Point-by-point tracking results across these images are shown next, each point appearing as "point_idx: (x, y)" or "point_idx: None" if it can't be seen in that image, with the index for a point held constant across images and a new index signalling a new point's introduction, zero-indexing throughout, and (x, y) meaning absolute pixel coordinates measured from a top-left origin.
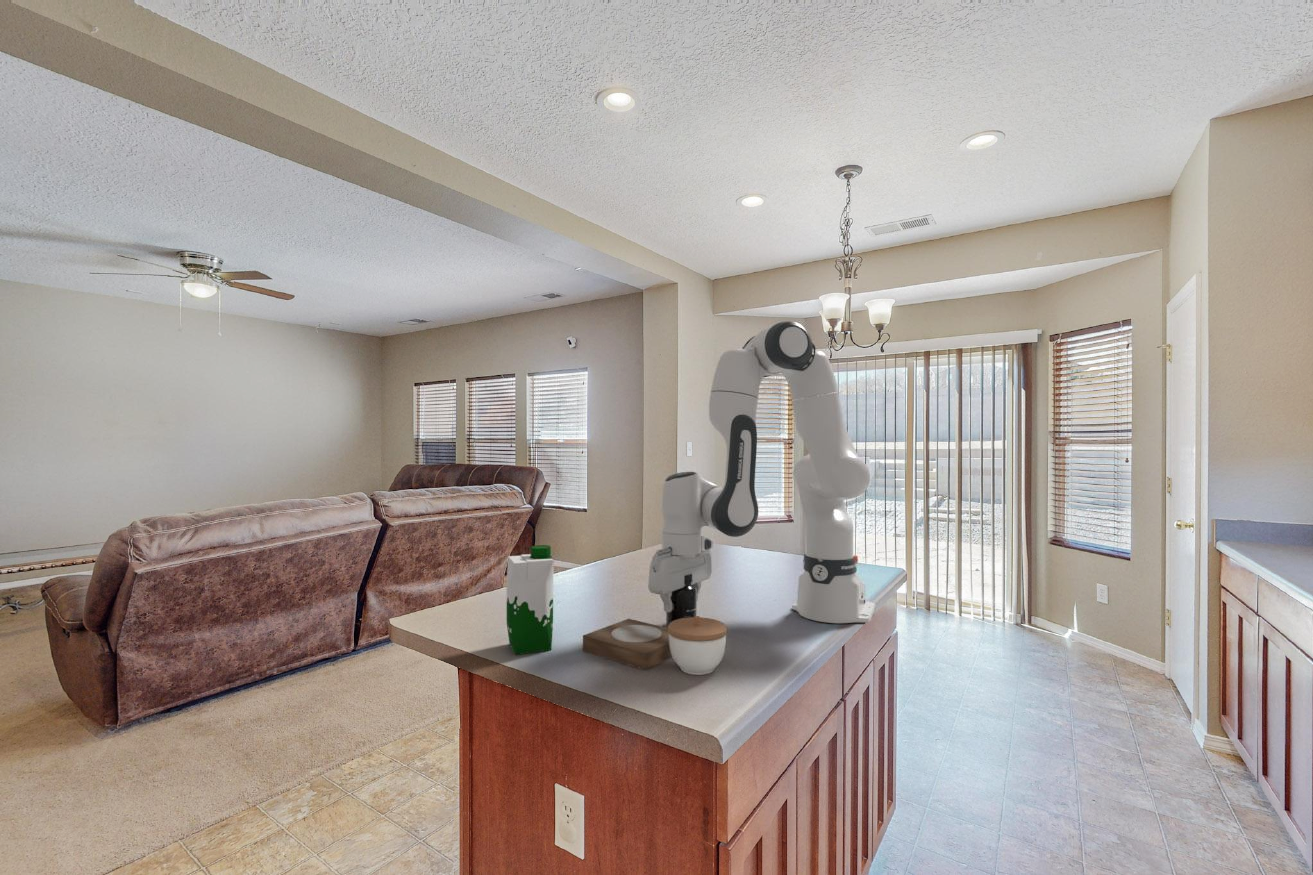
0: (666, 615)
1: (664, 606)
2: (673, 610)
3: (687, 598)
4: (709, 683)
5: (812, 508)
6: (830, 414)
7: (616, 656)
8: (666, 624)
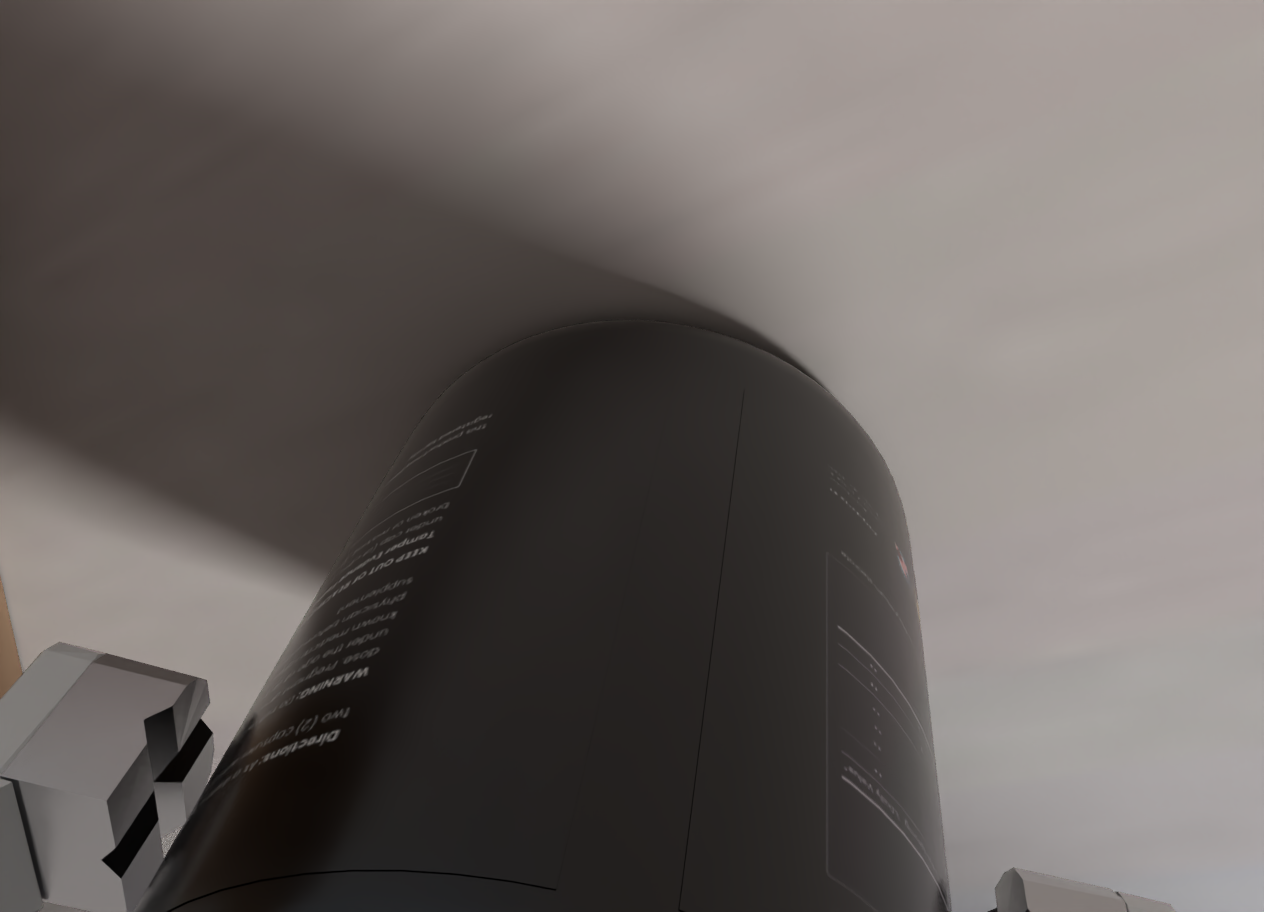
0: (409, 470)
1: (5, 713)
2: (206, 769)
3: None
4: None
5: None
6: None
7: None
8: (467, 375)
